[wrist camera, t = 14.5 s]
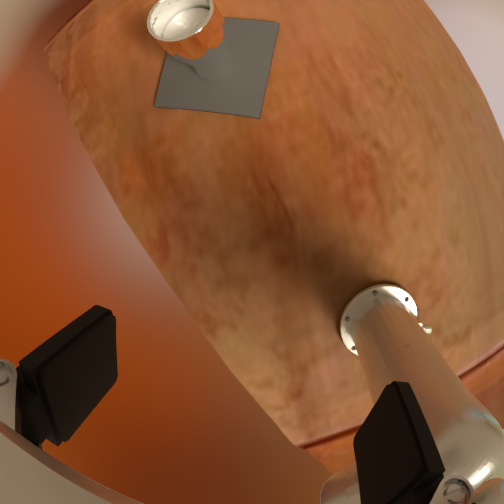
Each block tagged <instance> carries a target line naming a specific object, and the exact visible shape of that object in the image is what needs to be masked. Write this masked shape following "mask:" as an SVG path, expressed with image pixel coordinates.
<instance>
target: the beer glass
mask: <svg viewBox="0 0 504 504" xmlns="http://www.w3.org/2000/svg"><path fill="white" fill-rule="evenodd" d="M147 28H148V31H149V33H150V34H151V35H152V36H153V37H154V38H155V39H156V41H157V42H158V43H159V44H160V45H161V46H162V47H163V48H164V49H165V50H166V51H167V52H168V53H169V54H170V55H172V56H173V57H174V58H176V59H178V60H180V61H182V62H184V63H186V64H189V65H191V66H193V68H194V71H195V73H196V74H197V75H198V76H199V77H200V78H202V79H204V80H207V81H218V80H222V79H224V78H226V77H227V76H229V75H230V74H231V73H232V72H233V71H234V69H235V67H236V64H237V55H236V53H235V51H234V50H233V49H232V47H230V46H229V45H228V33H227V27H226V23H225V21H224V18H223V16H222V14H221V13H220V11H219V9H218V8H217V6H216V5H215V4H214V2H213V1H212V0H159V1H158V2H157V3H156V4H155V5H154V6H153V7H152V9H151V11H150V13H149V15H148V18H147Z"/></svg>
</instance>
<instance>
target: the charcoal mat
mask: <svg viewBox="0 0 504 504" xmlns="http://www.w3.org/2000/svg"><path fill="white" fill-rule="evenodd" d="M224 21H225V23H226V27H227V33H228V45H229V46H230V47H232V49H233V50H234V51H235V53H236V55H237V64H236V67H235V69H234V71H233V72H232V73H231V74H230V75H229V76H227V77H226V78H224V79H222V80H218V81H207V80H204V79H202V78H200V77H199V76H198V75H197V74H196V73H195V71H194V68H193V66H191V65H189V64H186V63H184V62H182V61H180V60H178V59H176V58H174V57H173V56H172V55H170V54H169V53H168V52H167V55H166V59H165V63H164V67H163V70H162V74H161V78H160V83H159V87H158V91H157V95H156V100H155V104H154V107H157V108H173V109H185V110H196V111H206V112H215V113H223V114H230V115H237V116H244V117H251V118H257V119H260V116H261V111H262V106H263V101H264V96H265V91H266V86H267V81H268V76H269V72H270V67H271V62H272V57H273V53H274V48H275V43H276V39H277V34H278V30H279V23H276V22H268V21H259V20H249V19H236V18H224Z"/></svg>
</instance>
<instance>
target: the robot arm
mask: <svg viewBox="0 0 504 504" xmlns="http://www.w3.org/2000/svg"><path fill="white" fill-rule="evenodd" d="M374 290H375V291H374ZM373 291H374V292H373ZM405 297H406V298H405ZM347 316H348V317H347ZM431 331H432V326H431V325H426V324H422V323H421V322H420V321H419V319H418V318H417V308H416V304H415V302H414V300H413V298H412V297H411V296H410V294H409V293H408V292H407V291H405V290H404V289H403V288H401V287H399V286H397V285H393V284H378V285H373V286H371V287H368V288H366V289H364V290H362V291H361V292H359V293H358V294H357V295H355V296H354V297H353V298H352V299H351V300H350V302H349V303H348V304H347V306H346V307H345V309H344V311H343V313H342V316H341V320H340V333H341V337H342V340H343V343H344V344H345V346H346V347H347V348H348V349H349V350H350V351H351V352H352V353H354V354H356V355H358V356H359V359H360V362H361V365H362V369H363V372H364V375H365V378H366V381H367V384H368V388H369V391H370V394H371V398H372V401H373V404H374V407H373V408H372V410H371V412H370V413H369V415H368V416H367V418H366V420H365V421H364V423H363V424H362V426H361V427H360V429H359V430H358V432H357V433H356V435H355V437H354V442H353V445H354V452H355V459H356V461H355V462H353V463H351V464H350V465H348V466H346V467H344V468H342V469H340V470H339V471H337V472H336V473H334V474H333V475H332V476H331V477H330V478H329V479H328V480H327V481H326V482H325V484H324V486H323V488H322V491H321V504H504V479H503V478H494V479H491V480H488V481H486V480H487V479H488V478H489V477H490V476H491V475H492V474H493V473H494V472H495V470H496V469H497V467H498V466H499V465H500V463H501V460H502V459H503V456H504V433H503V431H502V429H501V427H500V425H499V423H498V422H497V420H496V419H495V418H494V417H493V415H492V414H491V413H490V412H489V411H488V410H487V409H486V408H485V407H484V406H483V405H482V404H481V403H480V402H479V401H478V400H477V399H476V398H475V397H474V396H473V395H472V393H471V392H470V391H469V390H468V389H467V388H466V387H465V385H464V384H463V383H462V382H461V380H460V379H459V378H458V376H457V375H456V374H455V372H454V371H453V370H452V368H451V367H450V365H449V364H448V363H447V361H446V360H445V358H444V357H443V356H442V354H441V353H440V351H439V350H438V349H437V347H436V346H435V344H434V343H433V342H432V339H431V338H429V336H428V335H427V334H430V333H431ZM19 364H20V365H19V366H18V367H17V368H15V366H14V365H13V364H12V363H11V362H10V361H7V360H5V359H0V504H143V503H141V502H138V501H136V500H134V499H131V498H129V497H126V496H124V495H122V494H119V493H118V492H115V491H113V490H111V489H109V488H107V487H105V486H103V485H101V484H99V483H97V482H95V481H93V480H91V479H89V478H88V477H86V476H84V475H82V474H80V473H78V472H77V471H75V470H73V469H71V468H70V467H68V466H67V465H65V464H63V463H62V462H60V461H58V460H57V459H55V458H54V457H52V456H50V455H49V454H47V453H46V452H44V451H43V444H42V443H43V441H44V440H45V439H47V440H49V441H50V442H52V443H53V444H55V445H57V446H59V445H60V444H61V442H62V441H64V442H66V441H68V440H69V439H70V437H71V436H72V435H73V434H74V433H75V431H76V430H77V429H78V428H79V426H80V425H81V424H82V422H83V421H84V420H85V419H86V418H87V417H88V415H89V414H90V413H91V412H92V410H93V409H94V408H95V407H96V406H97V404H98V403H99V402H100V400H101V399H102V398H103V397H104V396H105V395H106V393H107V392H108V391H109V390H110V388H111V387H112V386H113V385H114V383H115V382H116V380H117V376H118V374H117V351H116V318H115V316H113V313H112V311H111V310H109V309H106V308H104V307H101V306H99V305H95V306H93V307H92V308H91V309H89V310H88V311H86V312H85V313H84V314H82V315H81V316H79V317H78V318H77V319H75V320H74V321H72V322H71V323H70V324H68V325H67V326H66V327H64V328H63V329H61V330H60V331H59V332H58V333H56V334H55V335H53V336H52V337H51V338H49V339H48V340H47V341H45V342H44V343H43V344H41V345H40V346H39V347H37V348H36V349H35V350H33V351H32V352H31V353H30V354H28V355H27V356H25V357H24V358H23V359H22V360H20V361H19ZM485 481H486V482H485Z"/></svg>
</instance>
